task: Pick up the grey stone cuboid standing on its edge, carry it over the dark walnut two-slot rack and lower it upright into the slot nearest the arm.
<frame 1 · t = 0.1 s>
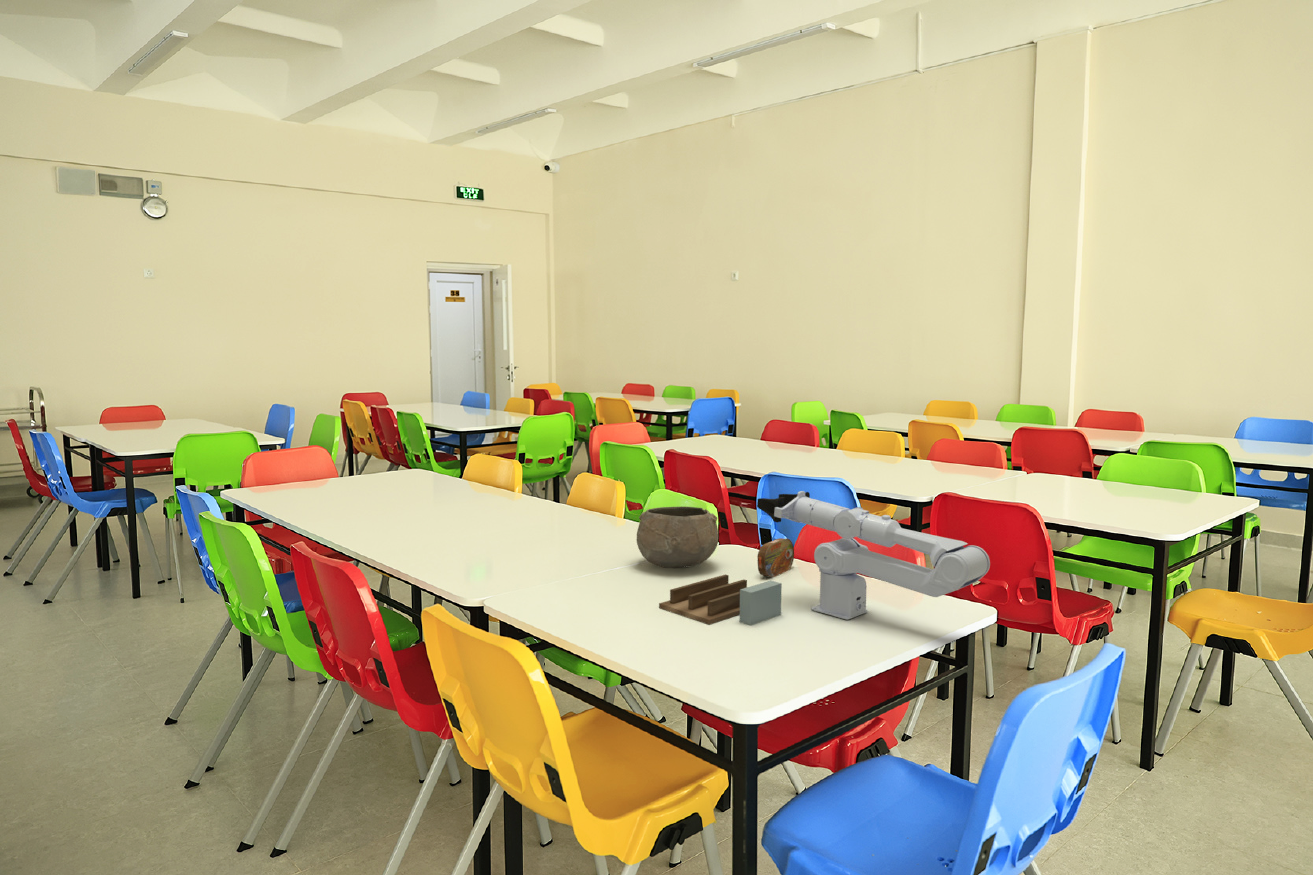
hand: (768, 500, 196), 22 cm above the table, tool horizontal, fingers open, 7 cm apart
clay pot: (677, 567, 220), on the table
tin: (775, 574, 214), on the table
rack: (718, 605, 188), on the table
grey stone cuboid: (760, 618, 179), on the table
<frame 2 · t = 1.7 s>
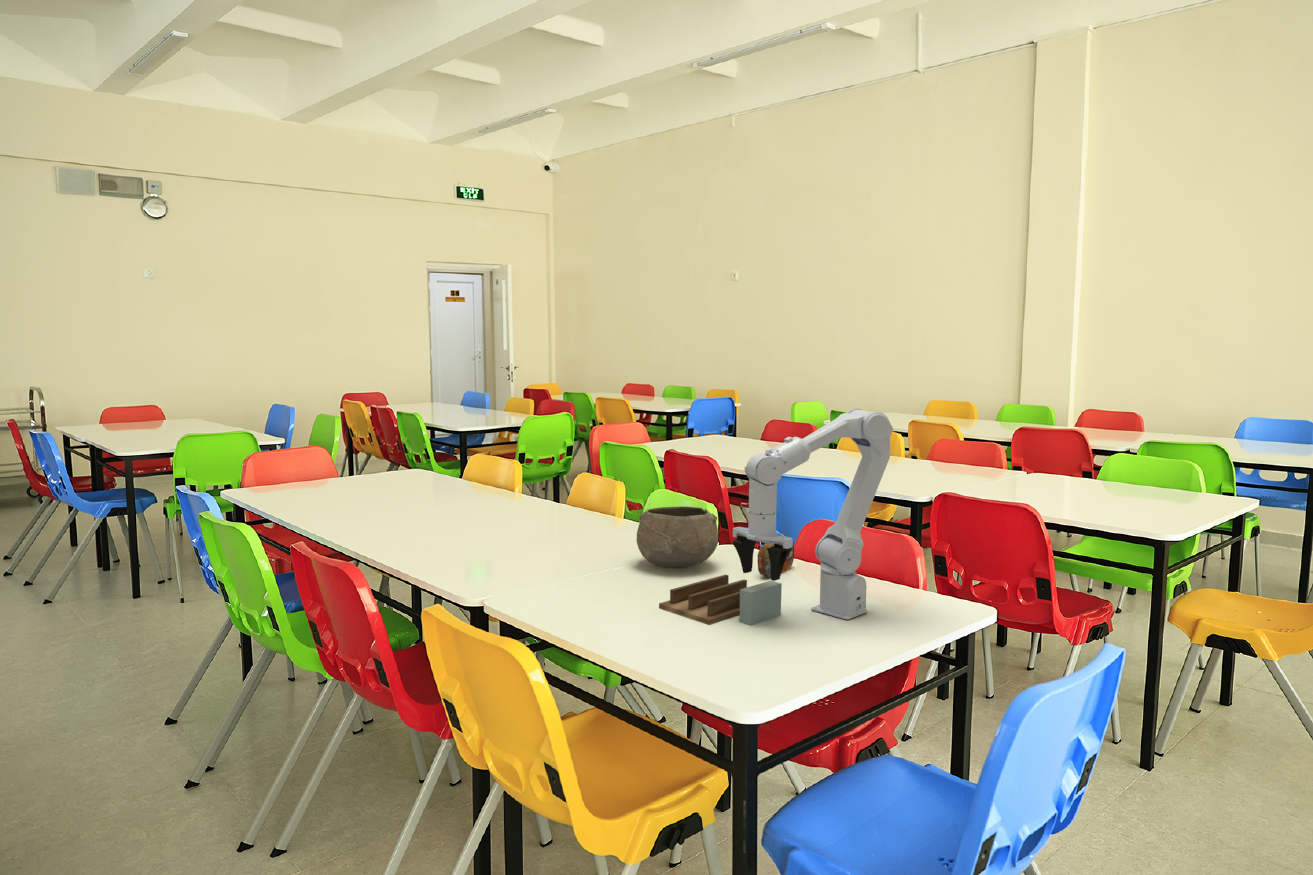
hand: (761, 575, 178), 9 cm above the table, tool pointing down, fingers open, 7 cm apart
nothing on the table moved.
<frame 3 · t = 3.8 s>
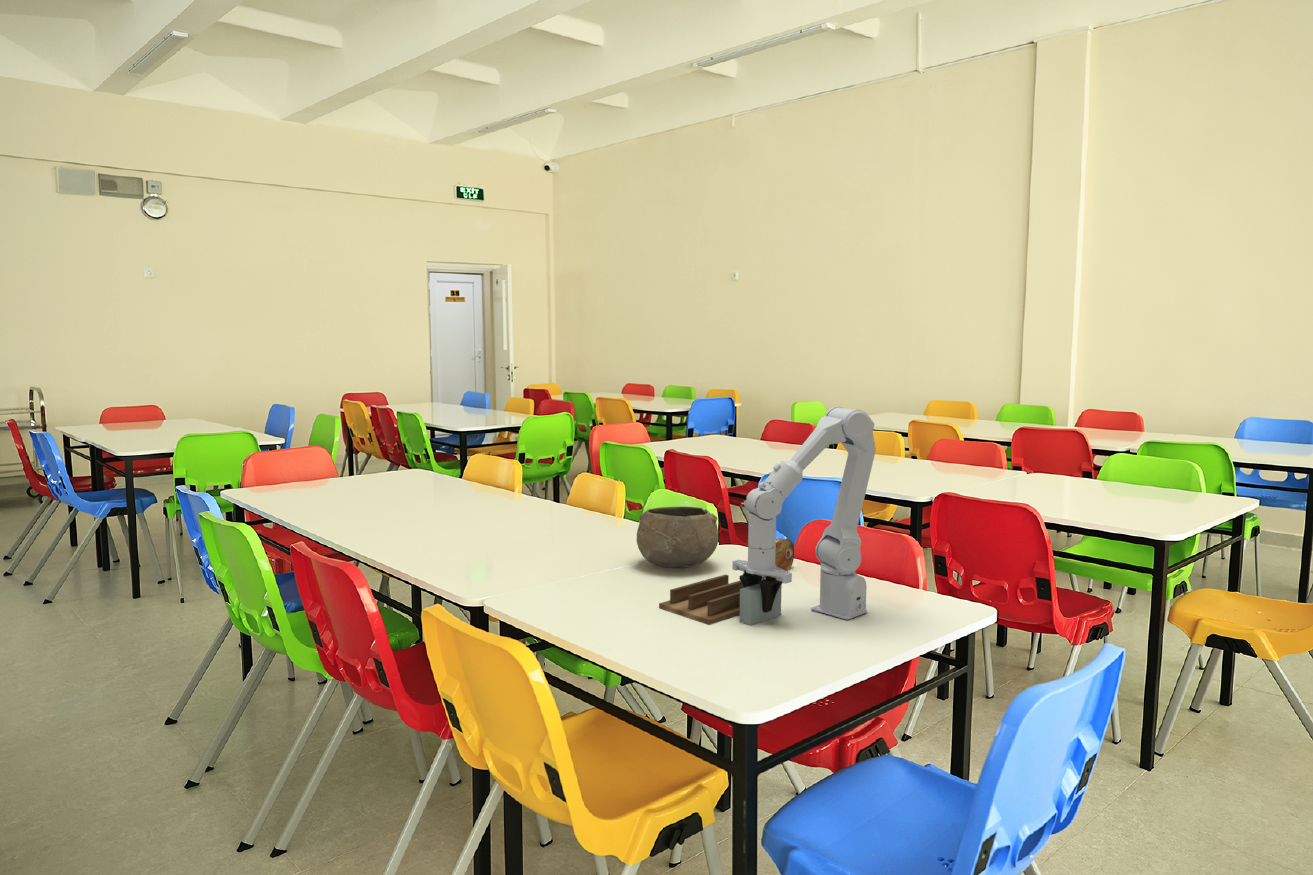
hand: (760, 609, 179), 2 cm above the table, tool pointing down, fingers closed on grey stone cuboid, 3 cm apart
grey stone cuboid: (760, 618, 179), on the table, touching gripper
everything else where it was.
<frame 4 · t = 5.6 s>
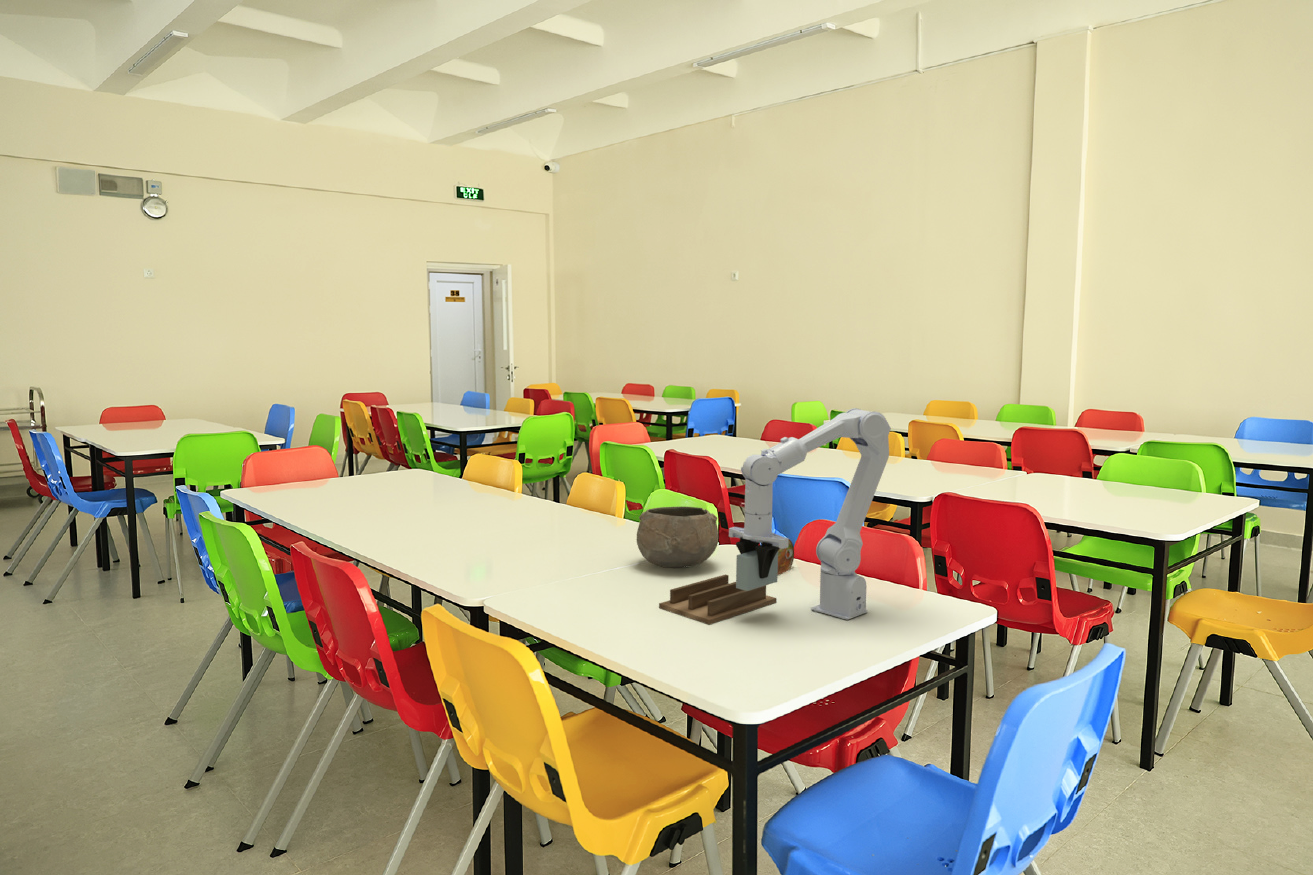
hand: (757, 575, 179), 9 cm above the table, tool pointing down, fingers closed on grey stone cuboid, 3 cm apart
grey stone cuboid: (756, 584, 179), point 7 cm above the table, touching gripper
everything else where it was.
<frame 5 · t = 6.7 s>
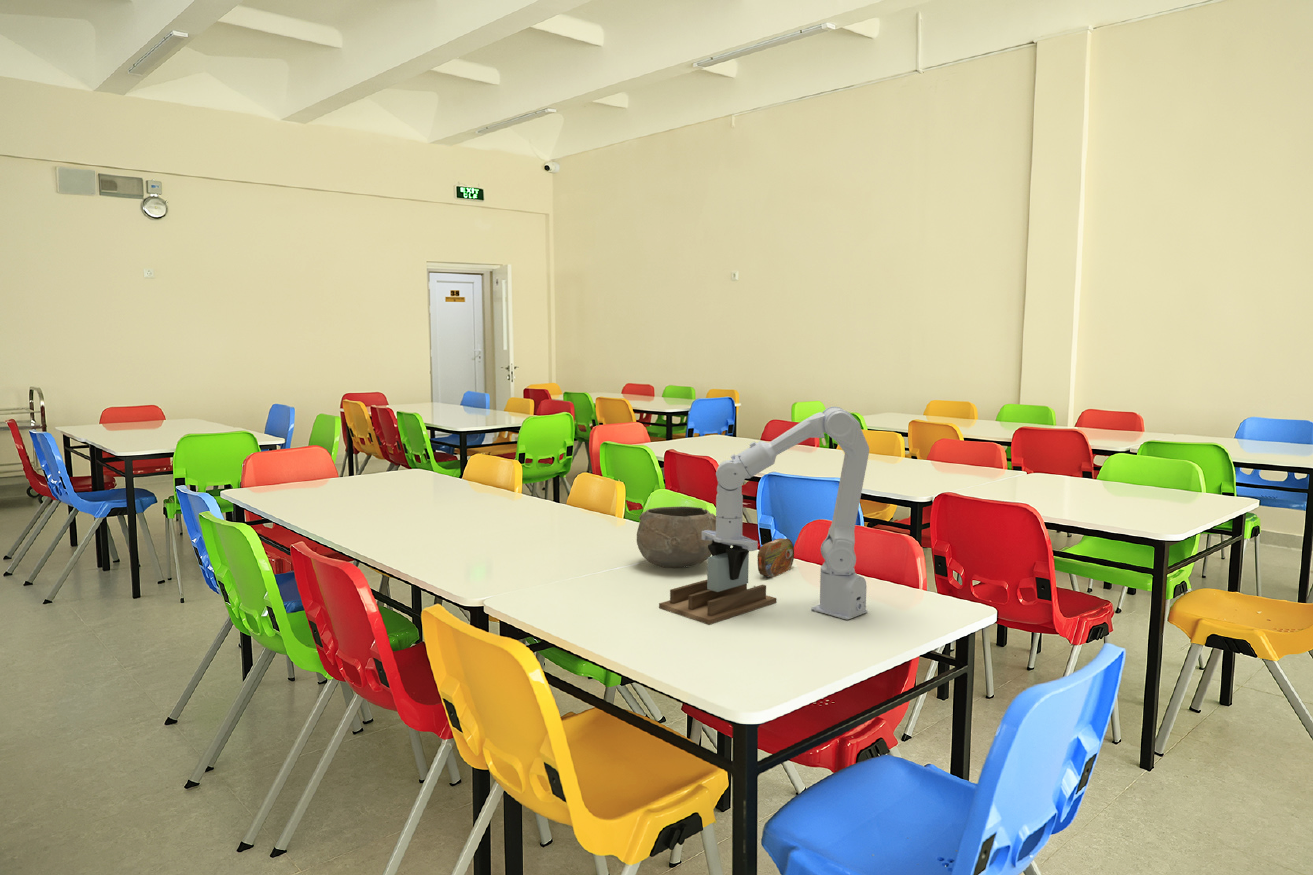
hand: (728, 577, 185), 7 cm above the table, tool pointing down, fingers closed on grey stone cuboid, 3 cm apart
grey stone cuboid: (727, 586, 185), point 5 cm above the table, touching gripper
everything else where it was.
when the fingers open (5 cm above the table, at t = 7.5 s): grey stone cuboid drops 2 cm, resting on rack.
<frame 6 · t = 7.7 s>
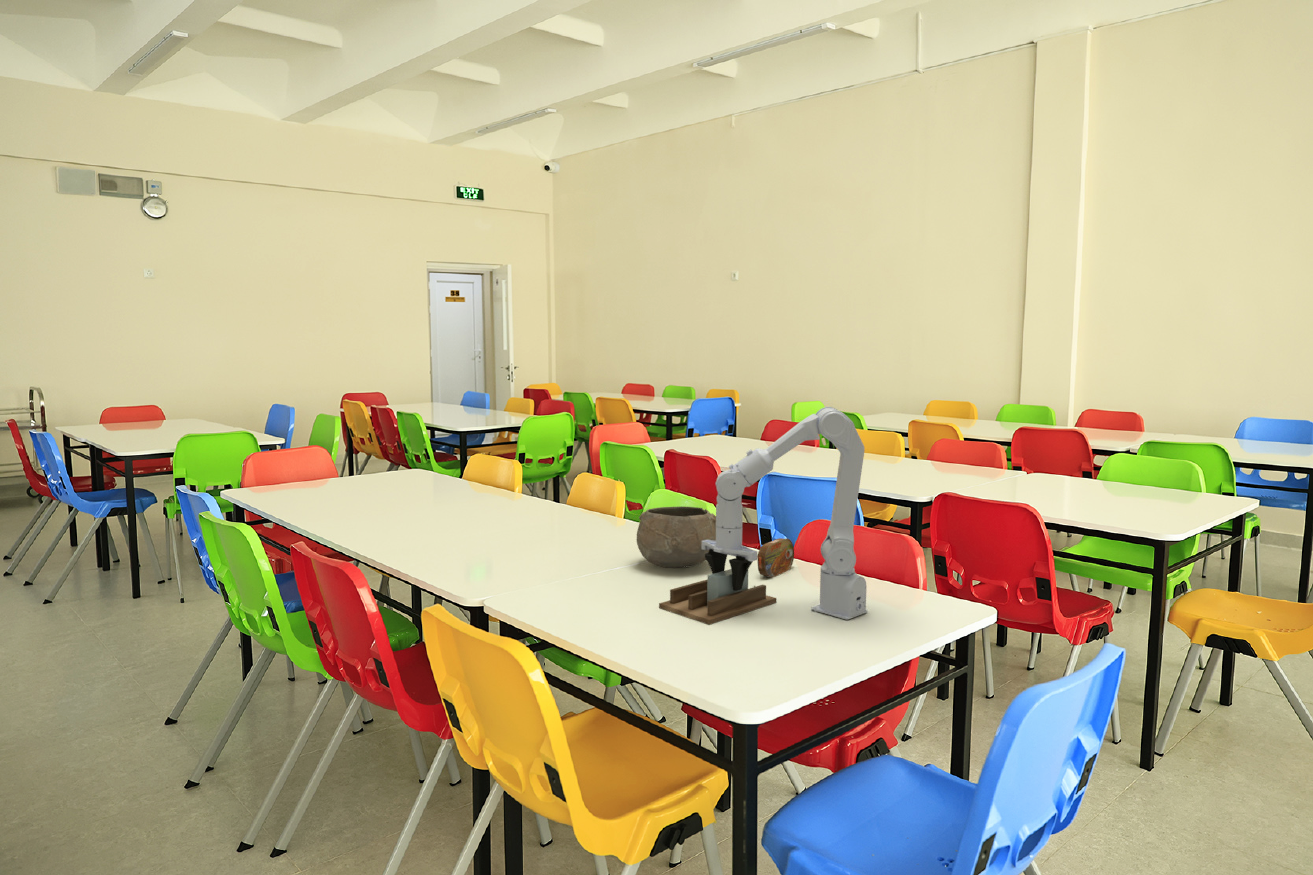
hand: (728, 587, 185), 5 cm above the table, tool pointing down, fingers open, 5 cm apart
grey stone cuboid: (727, 603, 186), point 1 cm above the table, touching rack
everything else where it was.
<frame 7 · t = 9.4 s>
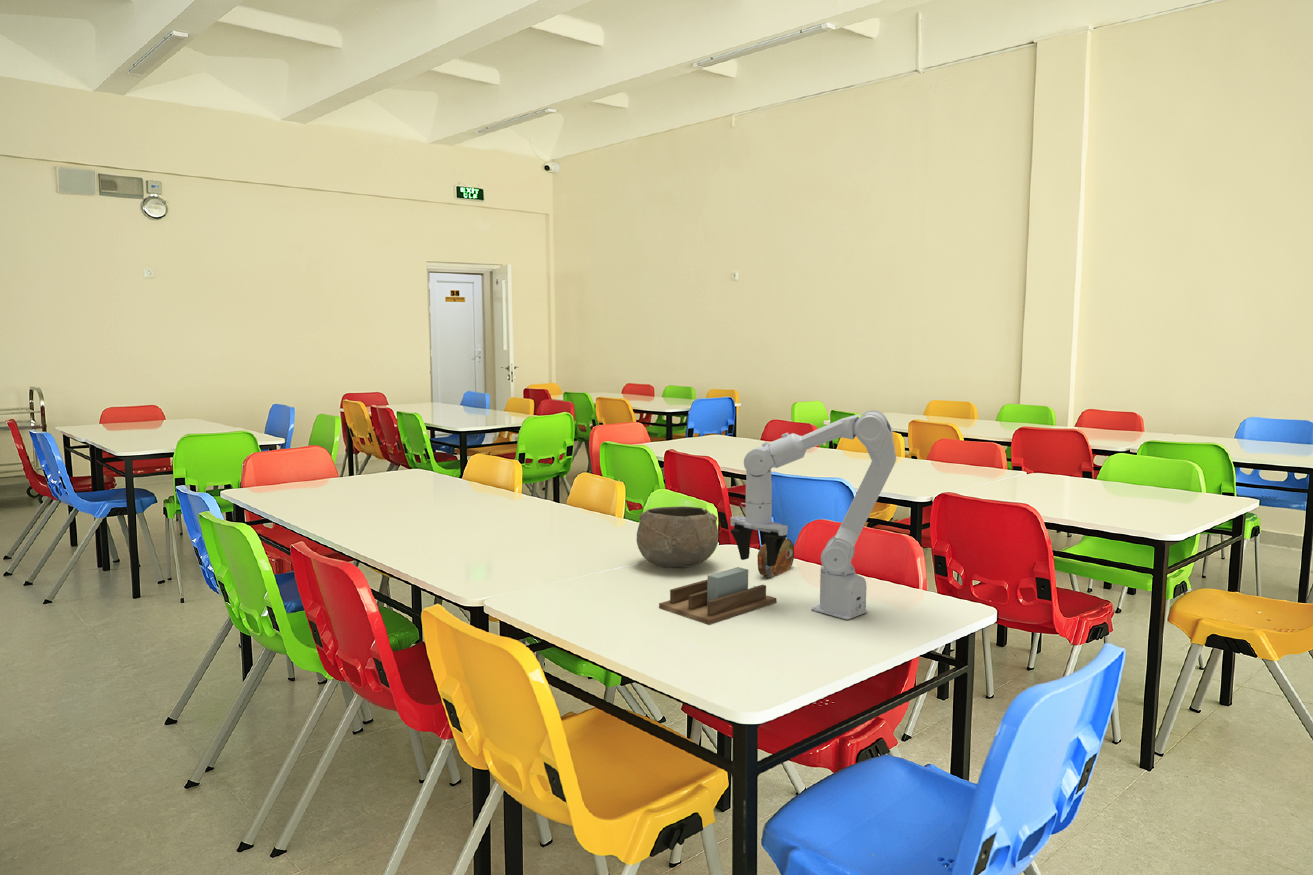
hand: (758, 562, 189), 9 cm above the table, tool pointing down, fingers open, 7 cm apart
nothing on the table moved.
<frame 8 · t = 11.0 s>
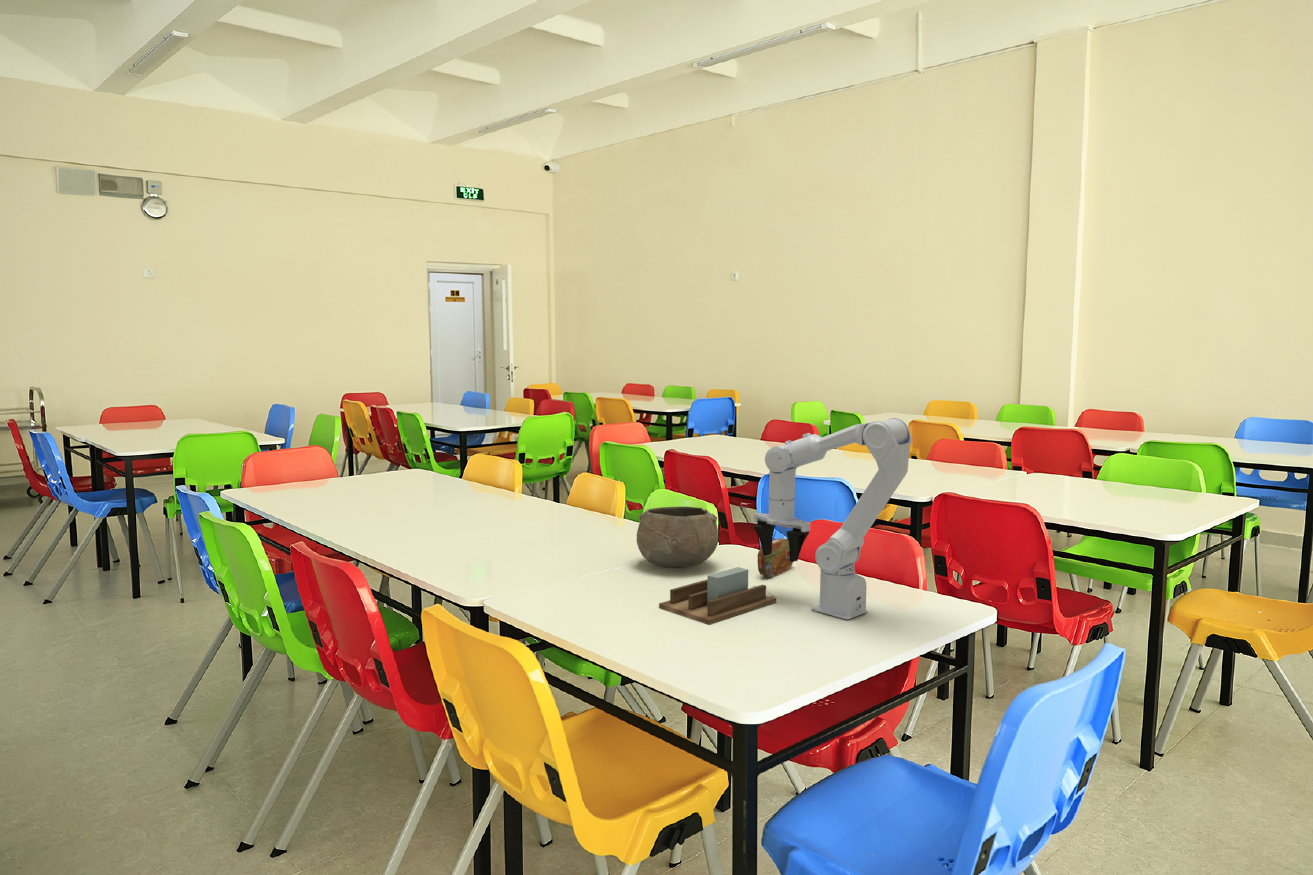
hand: (780, 557, 192), 9 cm above the table, tool pointing down, fingers open, 7 cm apart
nothing on the table moved.
at the end: grey stone cuboid inside the target area on the rack (0.0 cm from its centre), point 1.0 cm above the rack's base; grey stone cuboid tilted 0°; the gripper is holding nothing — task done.
